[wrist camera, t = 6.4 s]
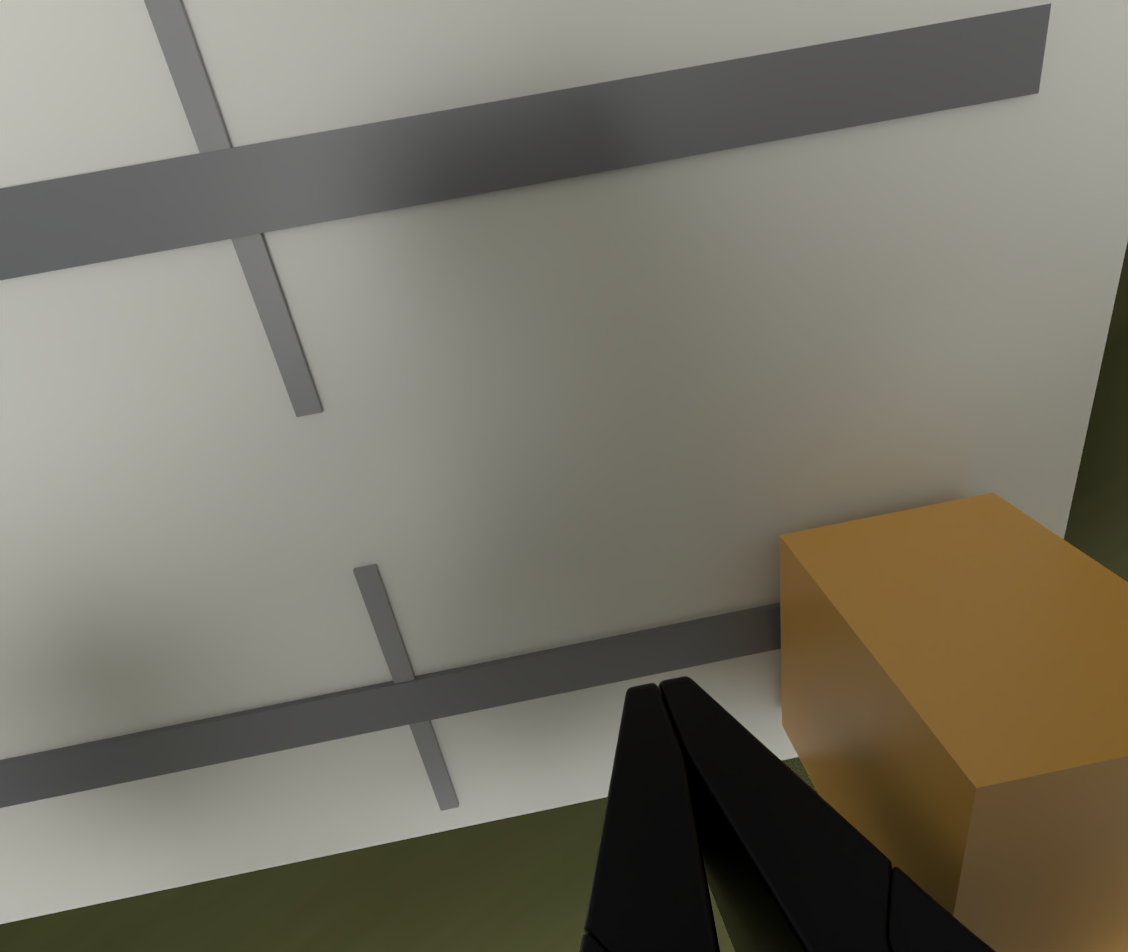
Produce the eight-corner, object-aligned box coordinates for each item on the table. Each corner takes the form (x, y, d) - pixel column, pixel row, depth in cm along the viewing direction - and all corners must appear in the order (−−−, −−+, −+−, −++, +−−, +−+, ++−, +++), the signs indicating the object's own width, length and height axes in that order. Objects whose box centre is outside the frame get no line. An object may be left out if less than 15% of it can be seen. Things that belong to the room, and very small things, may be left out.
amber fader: (963, 687, 11) (1205, 955, 7) (781, 725, 11) (934, 1017, 7) (992, 492, 9) (1325, 714, 6) (778, 534, 9) (975, 788, 5)
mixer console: (954, 634, 13) (1031, 712, 11) (-56, 841, 13) (-148, 961, 11) (1076, -260, 8) (1274, -397, 6) (-776, 44, 7) (-1243, 5, 5)
